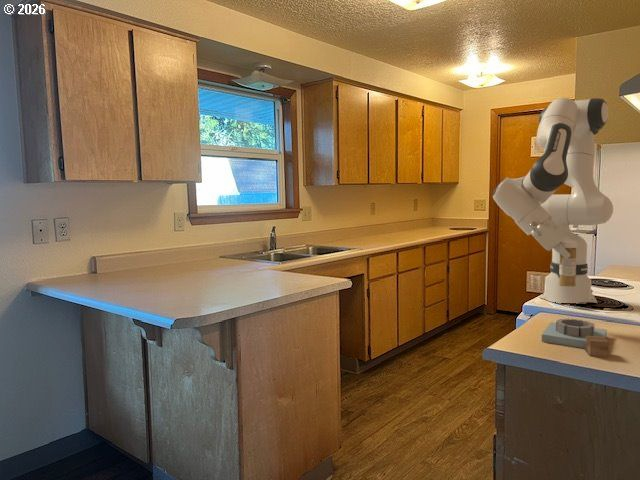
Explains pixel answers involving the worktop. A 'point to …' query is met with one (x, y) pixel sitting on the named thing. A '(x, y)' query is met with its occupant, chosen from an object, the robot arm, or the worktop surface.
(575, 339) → the hub board
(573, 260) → the sprinkles bottle
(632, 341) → the worktop surface
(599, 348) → the walnut block
